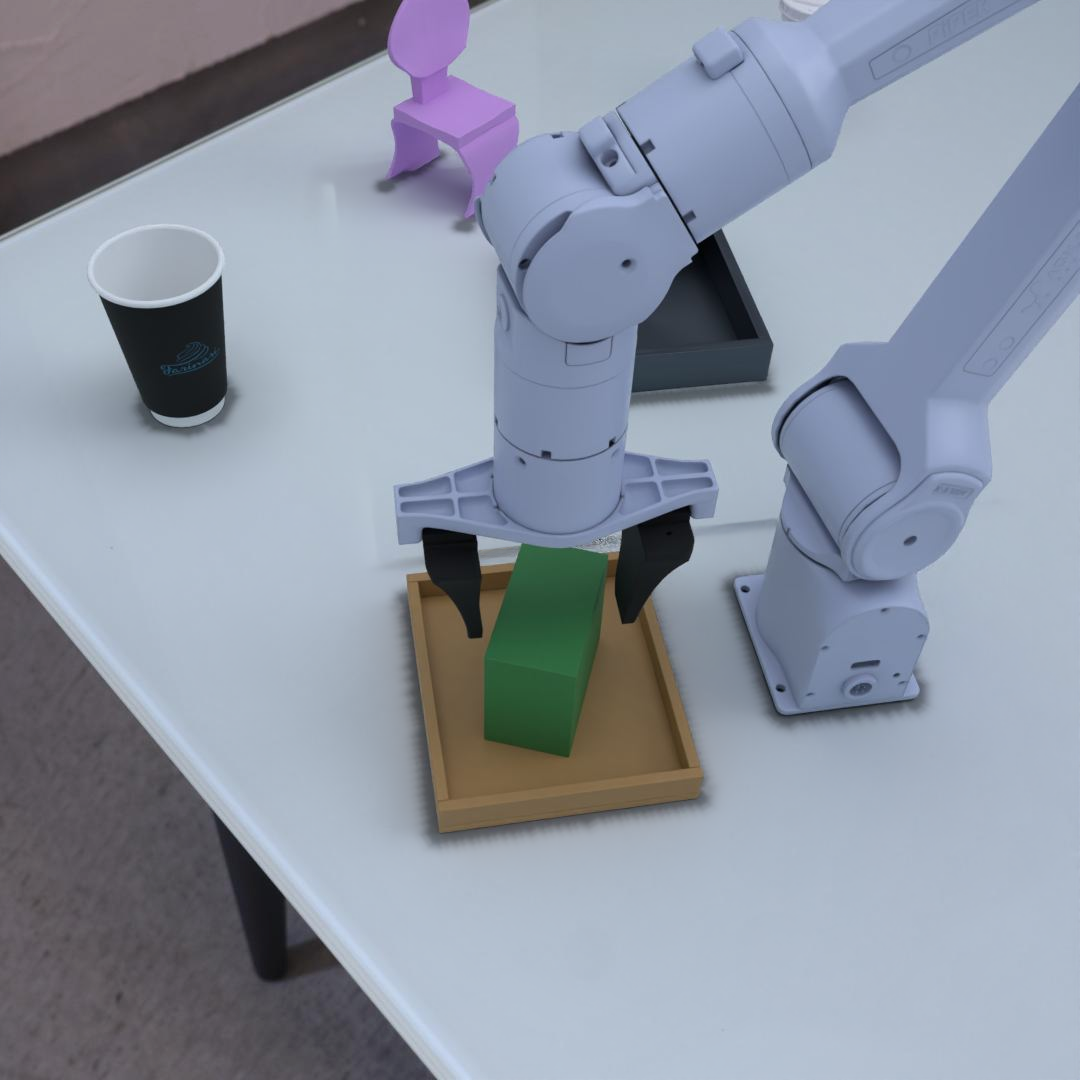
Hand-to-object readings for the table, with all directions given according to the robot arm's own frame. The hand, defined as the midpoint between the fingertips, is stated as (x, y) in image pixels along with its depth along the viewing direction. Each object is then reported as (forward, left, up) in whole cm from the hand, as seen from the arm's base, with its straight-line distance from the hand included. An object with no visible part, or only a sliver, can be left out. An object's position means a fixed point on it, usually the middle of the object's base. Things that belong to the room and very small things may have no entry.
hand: (549, 615), depth 66 cm
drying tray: (0, 0, -7) cm, 7 cm away
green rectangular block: (0, 0, -6) cm, 6 cm away
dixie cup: (+26, +19, -7) cm, 33 cm away
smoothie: (+57, -32, -7) cm, 66 cm away
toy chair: (+48, -1, -7) cm, 48 cm away
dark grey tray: (+30, -12, -7) cm, 33 cm away
